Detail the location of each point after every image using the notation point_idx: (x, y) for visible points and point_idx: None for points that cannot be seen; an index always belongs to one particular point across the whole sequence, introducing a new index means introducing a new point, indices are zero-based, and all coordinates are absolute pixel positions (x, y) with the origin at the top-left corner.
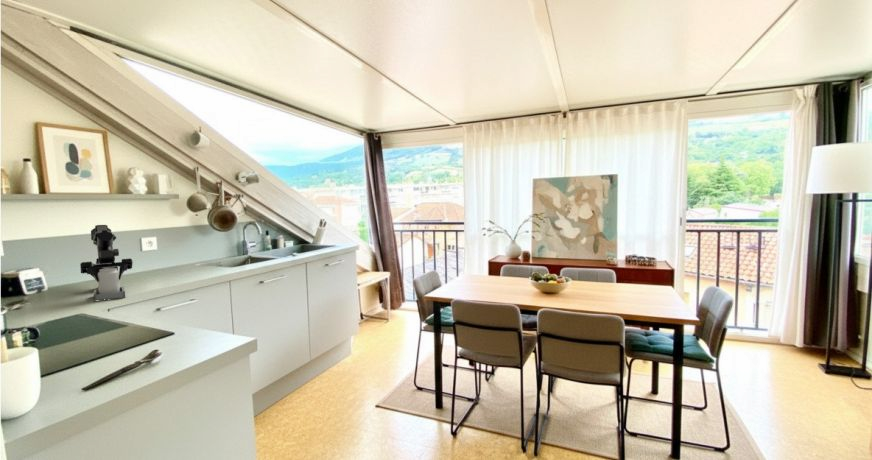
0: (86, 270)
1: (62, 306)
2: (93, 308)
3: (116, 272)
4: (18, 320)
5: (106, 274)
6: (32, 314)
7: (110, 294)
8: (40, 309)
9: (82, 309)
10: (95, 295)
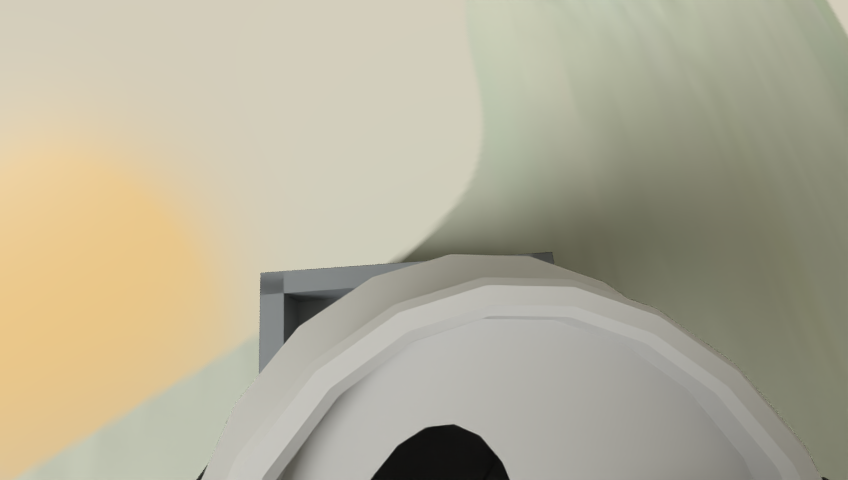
0: None
1: (713, 229)
2: (490, 55)
3: (257, 379)
4: (813, 13)
5: (509, 263)
6: (806, 103)
7: (404, 265)
8: (823, 214)
9: (554, 67)
10: (534, 255)
